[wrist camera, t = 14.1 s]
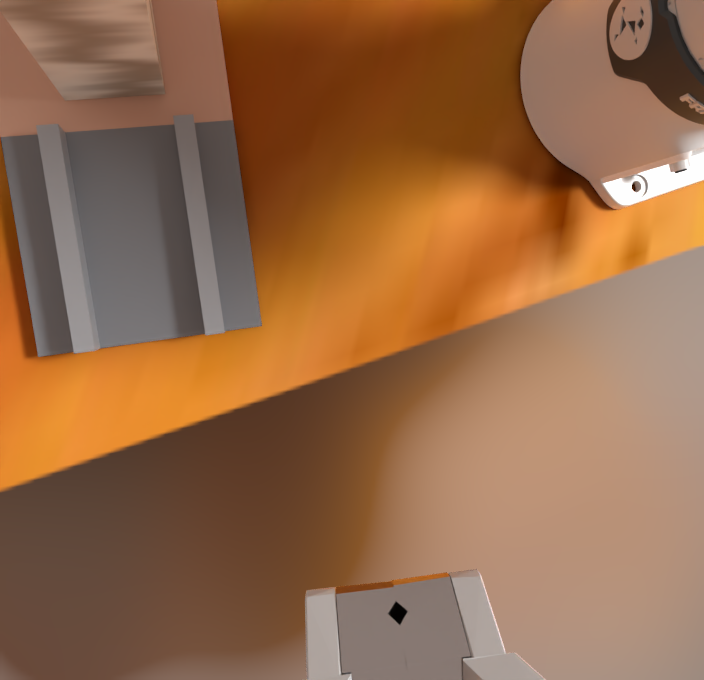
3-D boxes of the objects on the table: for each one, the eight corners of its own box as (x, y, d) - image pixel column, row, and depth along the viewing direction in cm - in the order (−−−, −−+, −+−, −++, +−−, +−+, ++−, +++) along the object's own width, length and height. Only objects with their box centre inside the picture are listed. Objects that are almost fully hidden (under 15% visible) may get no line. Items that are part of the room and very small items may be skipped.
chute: (202, -89, 42) (202, -118, 39) (260, 325, 45) (264, 327, 42) (-34, -87, 39) (-53, -118, 36) (42, 355, 42) (29, 359, 39)
